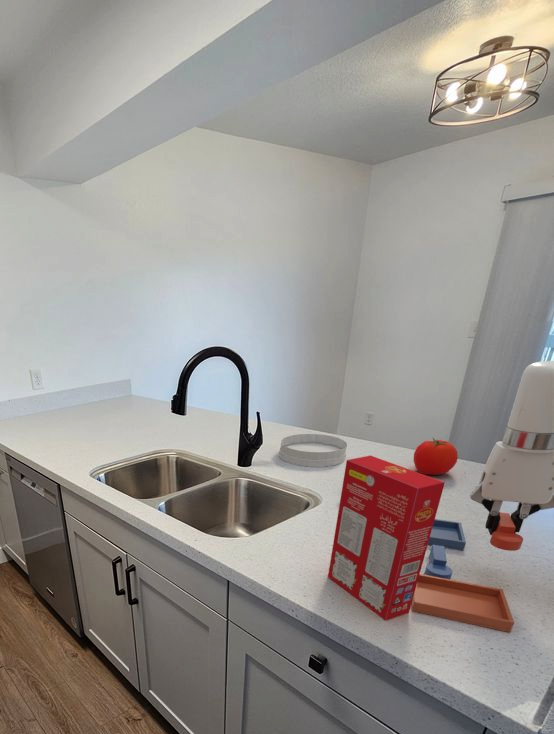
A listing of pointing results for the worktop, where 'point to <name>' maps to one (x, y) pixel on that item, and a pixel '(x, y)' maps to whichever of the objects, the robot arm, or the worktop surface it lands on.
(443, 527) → the slate tray
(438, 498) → the food packaging
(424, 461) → the tomato
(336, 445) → the light grey ring
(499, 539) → the terracotta spoon
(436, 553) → the slate spoon
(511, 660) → the worktop surface
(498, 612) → the terracotta tray
